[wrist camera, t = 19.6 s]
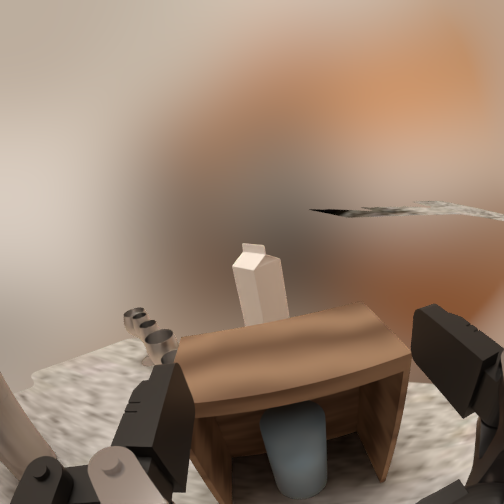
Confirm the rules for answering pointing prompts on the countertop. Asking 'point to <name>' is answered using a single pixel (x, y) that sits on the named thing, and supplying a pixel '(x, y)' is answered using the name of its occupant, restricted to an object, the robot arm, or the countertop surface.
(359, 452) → the countertop surface
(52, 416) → the countertop surface
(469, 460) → the countertop surface
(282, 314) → the milk
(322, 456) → the grey-blue cylinder
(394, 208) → the countertop surface
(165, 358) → the goblet set
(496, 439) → the robot arm
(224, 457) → the open wooden box
